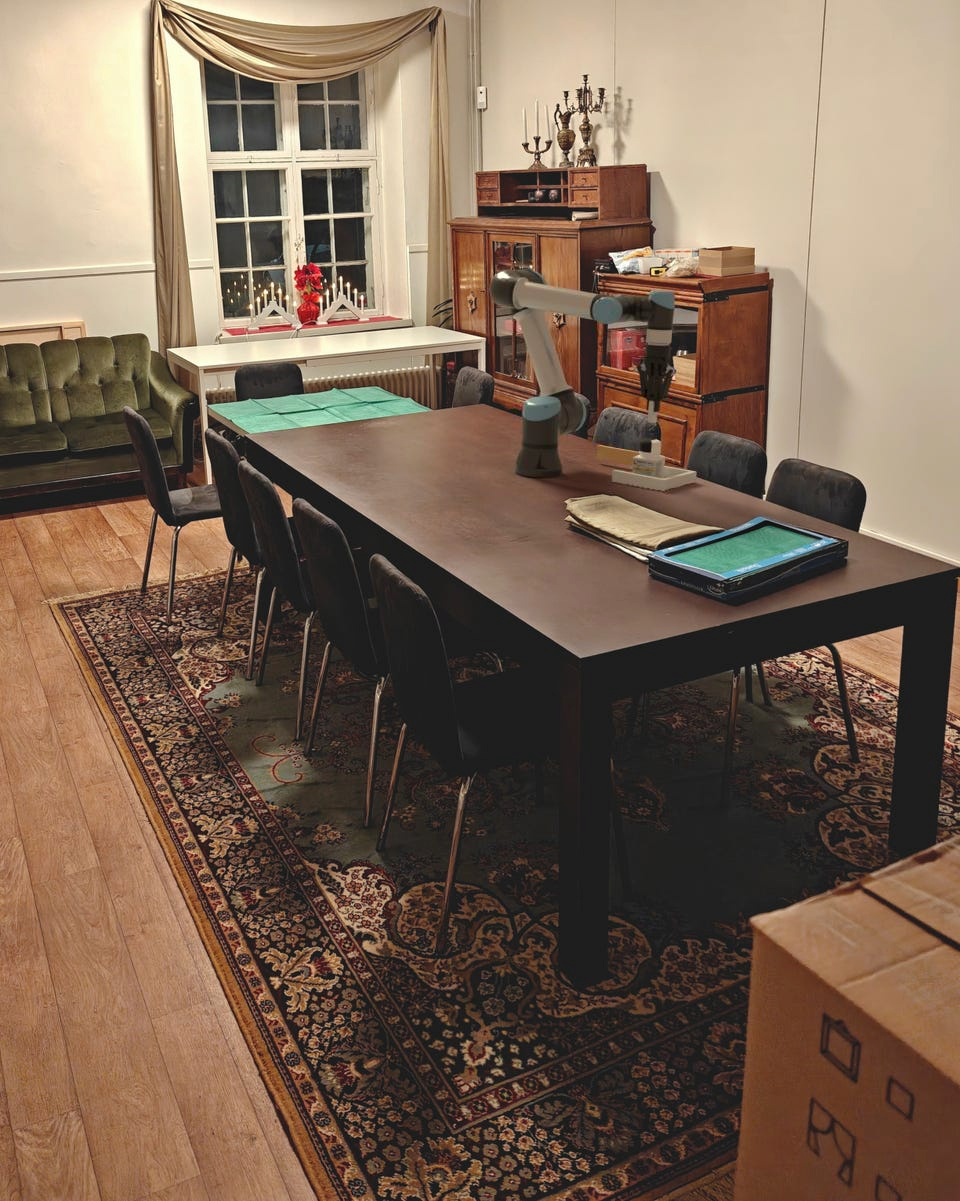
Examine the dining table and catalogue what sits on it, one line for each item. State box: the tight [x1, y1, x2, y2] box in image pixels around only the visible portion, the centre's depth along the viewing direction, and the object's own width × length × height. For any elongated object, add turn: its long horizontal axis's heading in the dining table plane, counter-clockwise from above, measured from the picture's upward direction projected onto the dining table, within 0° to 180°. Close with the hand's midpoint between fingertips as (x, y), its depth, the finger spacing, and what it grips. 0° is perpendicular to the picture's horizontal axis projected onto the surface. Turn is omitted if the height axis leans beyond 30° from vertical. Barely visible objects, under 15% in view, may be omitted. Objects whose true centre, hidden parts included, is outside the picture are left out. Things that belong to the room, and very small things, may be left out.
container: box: [631, 438, 666, 479], centre depth 354 cm, size 8×8×13 cm
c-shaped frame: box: [611, 465, 698, 492], centre depth 354 cm, size 19×18×4 cm
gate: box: [596, 444, 640, 467], centre depth 373 cm, size 20×2×6 cm, turn 49°
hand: (652, 422), depth 351 cm, fingers closed
